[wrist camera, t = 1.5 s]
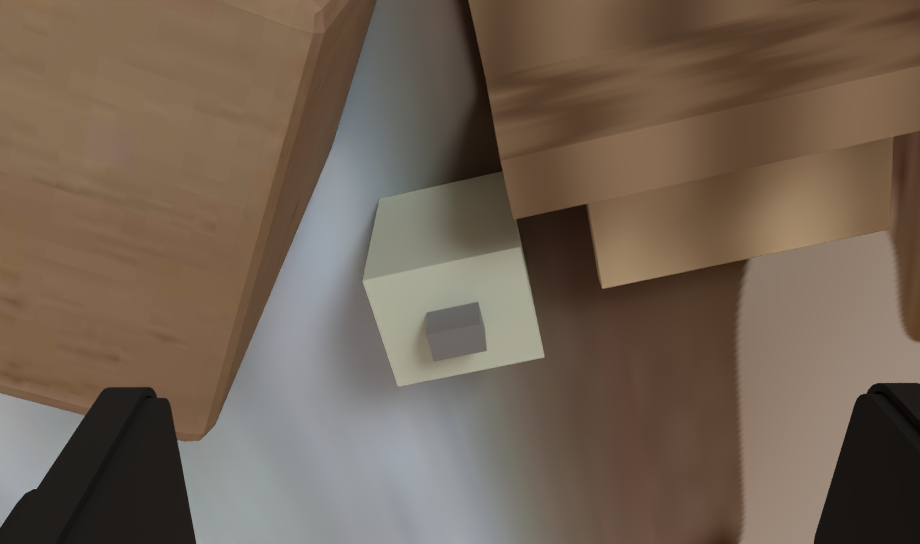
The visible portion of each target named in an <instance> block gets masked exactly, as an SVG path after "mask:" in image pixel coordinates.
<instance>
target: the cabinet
mask: <svg viewBox="0 0 920 544" xmlns="http://www.w3.org/2000/svg"><path fill="white" fill-rule="evenodd" d="M362 281H363V284H364V287H365V290H366V293H367V296H368V299H369V302H370V305H371V308H372V311H373V314H374V317H375V320H376V323H377V326H378V329H379V332H380V335H381V338H382V341H383V344H384V347H385V350H386V353H387V356H388V359H389V362H390V365H391V368H392V371H393V374H394V377H395V380H396V383H397V386H398V387H400V386H405V385H410V384H415V383H420V382H425V381H430V380H435V379H440V378H445V377H450V376H455V375H460V374H465V373H470V372H475V371H480V370H485V369H490V368H495V367H500V366H505V365H509V364H514V363H519V362H524V361H529V360H534V359H539V358H544V352H543V347H542V342H541V337H540V332H539V327H538V322H537V317H536V312H535V307H534V302H533V297H532V292H531V287H530V282H529V277H528V272H527V267H526V262H525V257H524V253H523V248H522V244H521V239H520V234H519V230H518V225H517V221H516V219H514V220H513V216H512V211H511V206H510V202H509V197H508V193H507V188H506V184H505V179H504V174H503V171H501V172H497V173H492V174H488V175H484V176H479V177H475V178H470V179H466V180H461V181H457V182H452V183H448V184H444V185H439V186H435V187H430V188H426V189H421V190H417V191H412V192H408V193H404V194H399V195H395V196H390V197H386V198H381V199H379V203H378V208H377V212H376V217H375V222H374V227H373V232H372V236H371V241H370V246H369V251H368V256H367V261H366V265H365V270H364V275H363V280H362Z"/></svg>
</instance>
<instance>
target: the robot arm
mask: <svg viewBox="0 0 920 544" xmlns="http://www.w3.org/2000/svg"><path fill="white" fill-rule="evenodd" d="M0 544H196V540H195V535H194V529H193V524H192V518H191V513H190V508H189V502H188V497H187V491H186V486H185V481H184V475H183V470H182V464H181V459H180V453H179V448H178V443H177V437H176V432H175V426H174V421H173V416H172V410H171V406H170V402H169V401H168V399H166V398H157V395H156V393H155V391H154V389H153V388H151V387H108V388H105V389H104V390H103V391H102V392H101V393H100V394H99V396H98V397H97V399H96V401H95V402H94V404H93V405H92V407H91V408H90V410H89V411H88V413H87V414H86V416H85V417H84V419H83V420H82V422H81V423H80V425H79V426H78V428H77V429H76V431H75V432H74V434H73V435H72V437H71V438H70V440H69V441H68V443H67V444H66V446H65V447H64V449H63V450H62V452H61V453H60V455H59V456H58V458H57V459H56V461H55V462H54V464H53V465H52V467H51V468H50V470H49V471H48V473H47V474H46V476H45V477H44V479H43V480H42V482H41V483H40V485H39V486H38V488H37V489H33V490H31V491H29V492H28V493H26V494H25V495H24V496H23V497H22V498H21V499H20V500H19V502H18V503H17V504H16V505H15V507H14V508H13V510H12V511H11V513H10V514H9V516H8V517H7V519H6V520H5V522H4V523H3V525H2V526H1V528H0ZM814 544H920V384H918V383H877V384H874V385H872V386H871V388H870V389H869V390H868V392H867V394H863V395H860V396H859V397H858V398H857V400H856V402H855V405H854V408H853V412H852V415H851V418H850V422H849V425H848V428H847V432H846V435H845V439H844V441H843V445H842V448H841V452H840V455H839V458H838V461H837V465H836V468H835V472H834V475H833V478H832V481H831V485H830V488H829V491H828V495H827V498H826V501H825V504H824V508H823V511H822V515H821V518H820V521H819V524H818V528H817V531H816V534H815V539H814Z"/></svg>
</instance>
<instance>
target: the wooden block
mask: <svg viewBox="0 0 920 544" xmlns="http://www.w3.org/2000/svg"><path fill="white" fill-rule="evenodd" d="M375 3H376V0H0V393H2V394H6V395H10V396H14V397H17V398H21V399H25V400H29V401H33V402H37V403H40V404H44V405H48V406H52V407H56V408H59V409H63V410H67V411H71V412H75V413H78V414H82V415H86V414H87V413H88V411H89V410H90V408H91V407H92V405H93V404H94V402H95V401H96V399H97V397H98V396H99V394H100V393H101V392H102V391H103V390H104V389H105V388H108V387H151V388H153V389H154V391H155V393H156V395H157V398H166V399H168V401H169V402H170V406H171V410H172V416H173V421H174V426H175V432H176V437H177V440H181V441H199V440H200V439H201V438H203V437H204V436H205V435H206V434H207V433H208V432H209V431H210V430H211V429H212V428H213V427H214V425H215V424H216V421H217V419H218V417H219V414H220V412H221V409H222V407H223V405H224V402H225V400H226V398H227V395H228V393H229V390H230V388H231V386H232V383H233V381H234V379H235V376H236V374H237V371H238V369H239V367H240V364H241V362H242V360H243V357H244V355H245V352H246V350H247V348H248V345H249V343H250V341H251V338H252V336H253V333H254V331H255V329H256V326H257V324H258V322H259V319H260V317H261V314H262V312H263V310H264V307H265V305H266V302H267V300H268V298H269V295H270V293H271V291H272V288H273V286H274V283H275V281H276V279H277V276H278V274H279V272H280V269H281V267H282V264H283V262H284V260H285V257H286V255H287V253H288V250H289V248H290V245H291V243H292V241H293V238H294V236H295V234H296V231H297V229H298V226H299V224H300V222H301V219H302V217H303V215H304V212H305V210H306V207H307V205H308V203H309V200H310V198H311V196H312V193H313V191H314V188H315V186H316V184H317V181H318V179H319V177H320V174H321V172H322V169H323V167H324V165H325V162H326V160H327V157H328V155H329V153H330V150H331V148H332V144H333V141H334V138H335V134H336V131H337V128H338V125H339V121H340V118H341V115H342V111H343V108H344V105H345V102H346V98H347V95H348V92H349V88H350V85H351V82H352V79H353V75H354V72H355V69H356V65H357V62H358V59H359V56H360V52H361V49H362V46H363V42H364V39H365V36H366V33H367V29H368V26H369V23H370V19H371V16H372V13H373V10H374V6H375Z"/></svg>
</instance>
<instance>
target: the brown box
mask: <svg viewBox="0 0 920 544" xmlns="http://www.w3.org/2000/svg"><path fill="white" fill-rule="evenodd" d="M469 5H470V10H471V14H472V19H473V23H474V28H475V33H476V37H477V42H478V46H479V51H480V56H481V60H482V65H483V69H484V74H485V79H486V84H487V90H488V95H489V101H490V106H491V111H492V117H493V122H494V128H495V133H496V139H497V144H498V150H499V155H500V161H501V165H502V170H503V174H504V179H505V184H506V188H507V193H508V197H509V202H510V206H511V211H512V216H513V220H514V219H519V218H524V217H528V216H533V215H537V214H542V213H547V212H551V211H556V210H560V209H565V208H569V207H574V206H579V205H583V204H586V207H587V213H588V219H589V225H590V231H591V237H592V243H593V249H594V255H595V261H596V267H597V273H598V278H599V281H600V284H601V286H602V289H604V288H609V287H614V286H619V285H624V284H628V283H633V282H638V281H643V280H648V279H653V278H657V277H662V276H667V275H672V274H677V273H681V272H686V271H691V270H696V269H701V268H706V267H710V266H715V265H720V264H725V263H730V262H734V261H739V260H744V259H749V258H754V257H758V256H763V255H768V254H773V253H777V252H783V251H787V250H792V249H797V248H802V247H807V246H812V245H816V244H821V243H826V242H831V241H836V240H840V239H845V238H850V237H855V236H860V235H865V234H869V233H874V232H878V231H884V230H889V229H890V221H891V192H892V163H893V137H894V136H899V135H903V134H908V133H912V132H917V131H920V0H469Z"/></svg>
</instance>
